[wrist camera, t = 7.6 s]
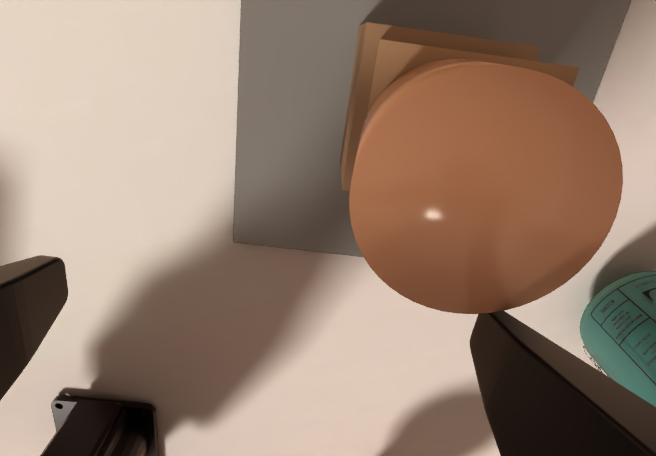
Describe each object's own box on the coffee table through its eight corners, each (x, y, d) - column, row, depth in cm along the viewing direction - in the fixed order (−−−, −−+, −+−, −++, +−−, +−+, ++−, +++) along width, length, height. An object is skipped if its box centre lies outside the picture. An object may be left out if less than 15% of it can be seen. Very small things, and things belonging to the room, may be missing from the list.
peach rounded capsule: (501, 245, 12) (556, 335, 9) (344, 213, 13) (329, 287, 9) (567, 77, 10) (677, 97, 7) (379, 41, 11) (379, 41, 7)
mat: (522, 270, 23) (526, 275, 23) (234, 238, 22) (232, 242, 22) (652, -75, 16) (661, -78, 16) (248, -140, 16) (246, -145, 15)
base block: (460, 177, 20) (489, 207, 17) (339, 162, 20) (342, 190, 16) (497, 44, 18) (540, 46, 14) (359, 25, 18) (367, 22, 14)
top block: (484, 199, 16) (516, 245, 12) (356, 179, 16) (350, 218, 13) (527, 61, 14) (580, 67, 10) (379, 40, 14) (379, 39, 11)
